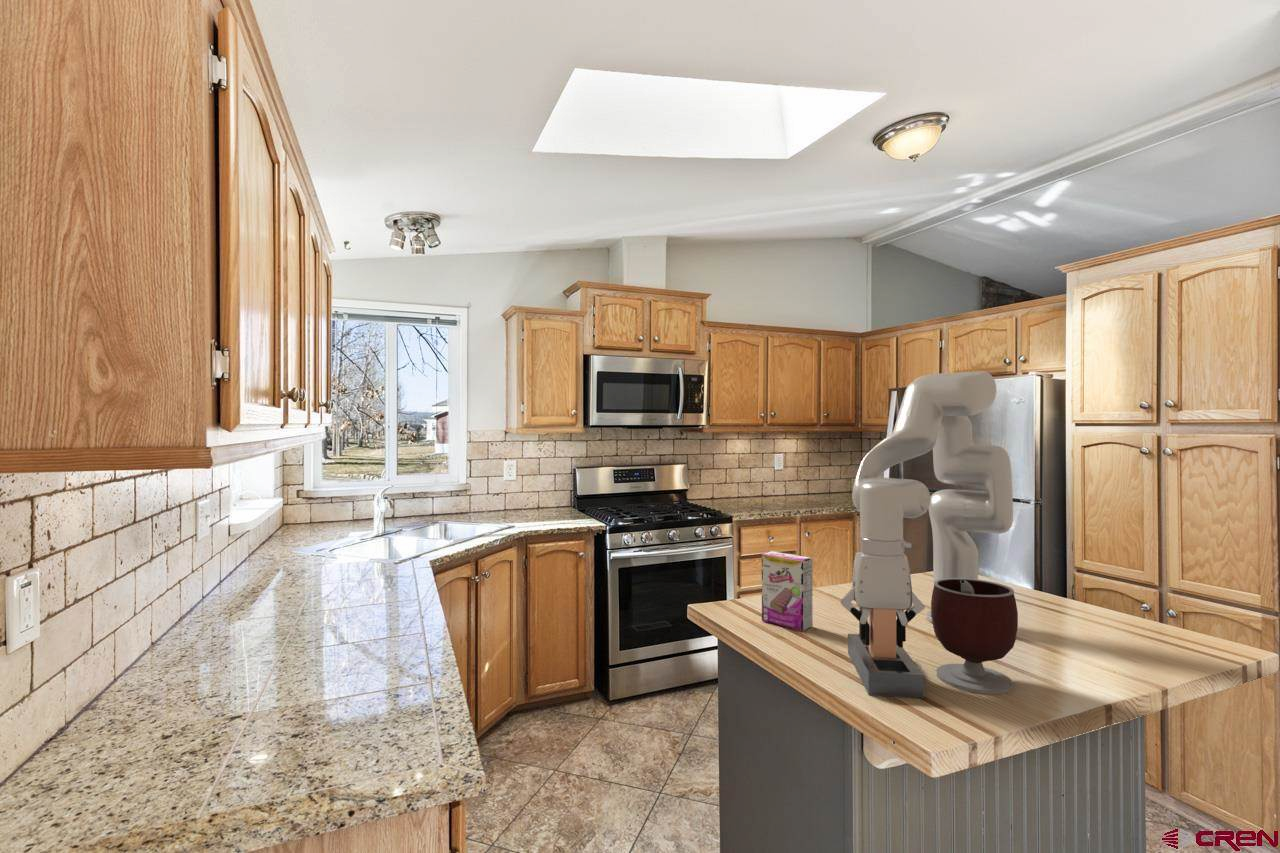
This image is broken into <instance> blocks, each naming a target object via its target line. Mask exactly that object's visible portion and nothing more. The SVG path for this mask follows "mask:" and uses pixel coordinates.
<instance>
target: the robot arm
mask: <svg viewBox="0 0 1280 853" xmlns="http://www.w3.org/2000/svg"><path fill="white" fill-rule="evenodd" d="M903 394H904V395H903V397H902V400H901V401H902V402H901V404H900V407H899V411H898V414H897V417H896V421H895V424H894V427H893V431H892V432H891V434H890V435H888V436H886V437H885V438H884V439H882V440H881V441H880V442H878V443H877V444H876V445H875V446H874V447H873V448H872V449H871V450H869V451H868V452H867V454H866V455H865V456H864V457H863V458H862V460H861V461H860V464H859V467H858V470H857V473H856V476H855V479H854V483H853V487H852V492H851V494H852V495H851V496H852V497H851V498H852V503H853V506H854V507H855V508H856V510H858V511H859V517H860V518H859V523H860V524H859V529H860V532H859V534H860V535H859V536H860V537H859V538H860V540H859V541H860V544H859V545H860V548H859V549H860V551H857V552H855V556H854V560H853V561H854V562H853V570H852V579H851V580H852V581H851V582H852V584H851V587H852V588H851V589H850V590H848V592H847V593H846V594H845V595H844V597H842V599H841V600H840V604H841V606H842V607H843V608H844V609H845V610H847V611H848V612H849V613H850V614H851V615H852V616H853V617H854V618H855V619H856V620H857V621H859V627H858V628H859V633H858V634H859V636H860V639H863V642H864V644H865V646H869V645H870V626H869V613H870V610H871V609H892V610H896V644H897V645H898V647H901V648H904V642H906V641H907V640H906V638H907V637H906V636H907V635H906V634H907V632H906V630H907V629H906V628H907V626H908V625H909V622H911V621H912V620H913V618H915V617H916V615H918V614H920V613H921V612H923V611H924V610H925V605H924V604H923V602H922V601H921V600H920V598H919V597H917V595H916V594H915V593H914V591H913V588H912V580H911V579H912V578H911V577H912V576H911V571H910V564H909V560H908V556H907V555H906V554H905V552H906V551H907V550H912V542H911V541H905V539H904V518H907V519H916V518H919V517H922V516H923V515H924V514H925V513H927V512H928V514H929V519H930V524H931V531H932V544H933V545H932V548H933V549H932V550H933V551H932V552H933V553H932V554H933V556H932V559H933V561H932V562H933V563H932V566H933V567H932V568H933V570H932V571H933V572H932V573H933V575H932V576H933V578H932V579H933V583H934V582H935V581H936V580H939V579H945V578H966V579H977V580H979V550H978V548H977V547H978V546H977V545H976V543H975V541H974V540H973V539H972V538H971V535H969V533H968V532H974V533H975V532H976V533H984V534H985V533H986V534H995V535H996V534H997V535H998V534H999V535H1000V534H1005V533H1007V532H1009V531H1010V529H1011V528H1012V527H1013V526H1012V525H1013V521H1014V501H1013V499H1014V498H1013V476H1012V475H1013V474H1012V464H1011V459H1010V456H1009V453H1008V451H1007V450H1006V449H1005V448H1003V447H1002V446H999V445H994V444H975V443H974V442H973V424H972V422H971V420H970V418H969V417H968V416H975V415H978V414H980V413H981V412H983V411H985V410H988V409H989V408H990V407H991V406H992V405H993V404H994V402H995V400H996V396H997V383H996V381H995V379H994V377H993V376H992V374H991V373H989V372H988V371H985V370H980V371H979V370H978V371H977V370H975V371H962V372H960V371H959V372H943V373H931V374H925V375H922V376H919V377H916V378H915V379H913V381H912V382H910V383H909V384H908V385H907V387H906V388H905V391H904V393H903ZM930 451H932V458H933V472H934V475H935V478H936V479H937V481H939V482H941V483H943V484H949V485H962V486H980V487H984V488H985V490H986V491H981V490H969V489H954V488H953V489H948V488H947V489H946V488H945V489H941V490H937V491H935V492H933V493H932V494H931V493H930V491H929V489H928V487H927V485H925V484H924V483H923V482H921V481H919V480H916V479H909V478H908V479H907V478H897V477H896V478H895V477H894V478H893V477H881V476H882V475H883V474H884V472H886V471H887V470H888V469H891V468H892V467H893V466H895V465H897V464H898V465H899V464H900V463H903V462H906V461H909V460H912V459H914V458H917V457H919V456H922V455H925V454H927V453H929V452H930ZM853 601H854V602H855V603H856V605H857V606H858V607H859V609H858V608H856V607H855V606H854V605H853V604H852V602H853ZM926 619H927V620H928V621H929V622H931V623H932V617H931V610H930V611H927V612H926Z"/></svg>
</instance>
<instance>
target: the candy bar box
mask: <svg viewBox="0 0 1280 853" xmlns="http://www.w3.org/2000/svg"><path fill="white" fill-rule="evenodd" d="M761 621H762V622H765V623H768V622H769V623H768V624H772V623H773V625H776V624H778V625H777V626H780V625H782V626H781V627H784V626H786V627H785V628H788V627H789V629H792V628H793V630H796V629H797V630H796V631H800V630H801V631H800V632H805V631H807V630H808V629H810V628H812V627H813V558H812V557H808V556H804V555H797V554H793V553H787V552H780V551H773V550H772V551H766V552H764V553H762V554H761ZM806 629H807V630H806ZM804 630H805V631H804Z"/></svg>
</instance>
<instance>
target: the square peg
mask: <svg viewBox="0 0 1280 853" xmlns="http://www.w3.org/2000/svg"><path fill="white" fill-rule="evenodd" d="M896 621H897V616H896V610H892V609H871V610H870V613H869V616H868V624H869V626H870V645H869V654H870V656H871V657H885V658H897V656H896Z"/></svg>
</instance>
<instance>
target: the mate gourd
mask: <svg viewBox="0 0 1280 853" xmlns="http://www.w3.org/2000/svg"><path fill="white" fill-rule="evenodd" d="M932 589H933V590H932V594H931V600H930V606H931V607H930V611H931V617H932V622H931V623H932V628H933V631H934V635H935V637H936V638H937V640H938V642H940V644H941V645H942V647H943V648H944V649H945V650H946V651H947V652H950V653H951V654H953V655H956V656H957V657H960V658H962V659H964V660H965V661H964V663H947V664H943V665H939V666H938V667H937V669H936V670H935V671H936V678H938V679H939V680H940V681H941V682H942V683H944V684H945V685H947V686H949V687H952V688H955V689H958V690H961V691H965V692H969V693H975V694H979V693H980V694H979V695H1004V694H1008V693H1010V692H1012V691H1011V690H1013V689H1014V681H1013V680H1012V679H1011V678H1010V677H1009V676H1008V675H1006V674H1004V673H1002V672H1000V671H998V670H995V669H992V668H988V667H986V666H984V665H983V663H984V662H989V661H991V662H992V661H996V660H1001V659H1003V658H1004V657H1005V656H1006V655H1007V654H1009V652H1010V651H1011V650H1012V649H1013V648H1014V646H1015V643H1016V640H1017V633H1018V627H1019V624H1018V623H1019V616H1018V615H1019V614H1018V613H1019V612H1018V606H1017V601H1016V600H1017V599H1016V597H1015V596H1016V595H1015V593H1014V592H1015V590H1014V589H1013V588H1011V587H1010V586H1008V585H1004V584H1002V583H998V582H993V581H988V580H983V579H978V580H977V579H966V578H945V579H939V580H936V581H935V582H934V581H933V588H932ZM1009 691H1010V692H1009ZM1007 692H1008V693H1007ZM1003 693H1004V694H1003Z"/></svg>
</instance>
